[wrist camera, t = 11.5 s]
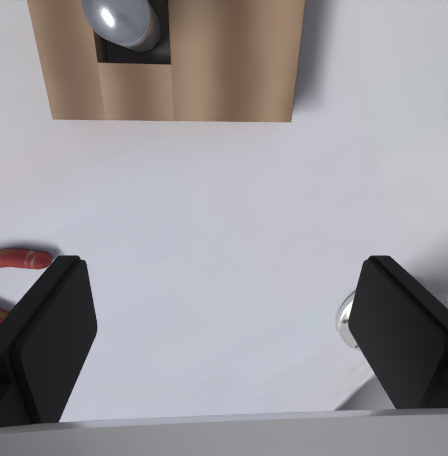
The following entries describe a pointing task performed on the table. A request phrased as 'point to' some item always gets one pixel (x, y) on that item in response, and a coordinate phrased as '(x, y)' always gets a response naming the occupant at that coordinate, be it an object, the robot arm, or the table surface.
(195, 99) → the socket block
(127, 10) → the pin
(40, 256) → the pliers
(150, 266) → the table surface
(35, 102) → the table surface
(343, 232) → the table surface
